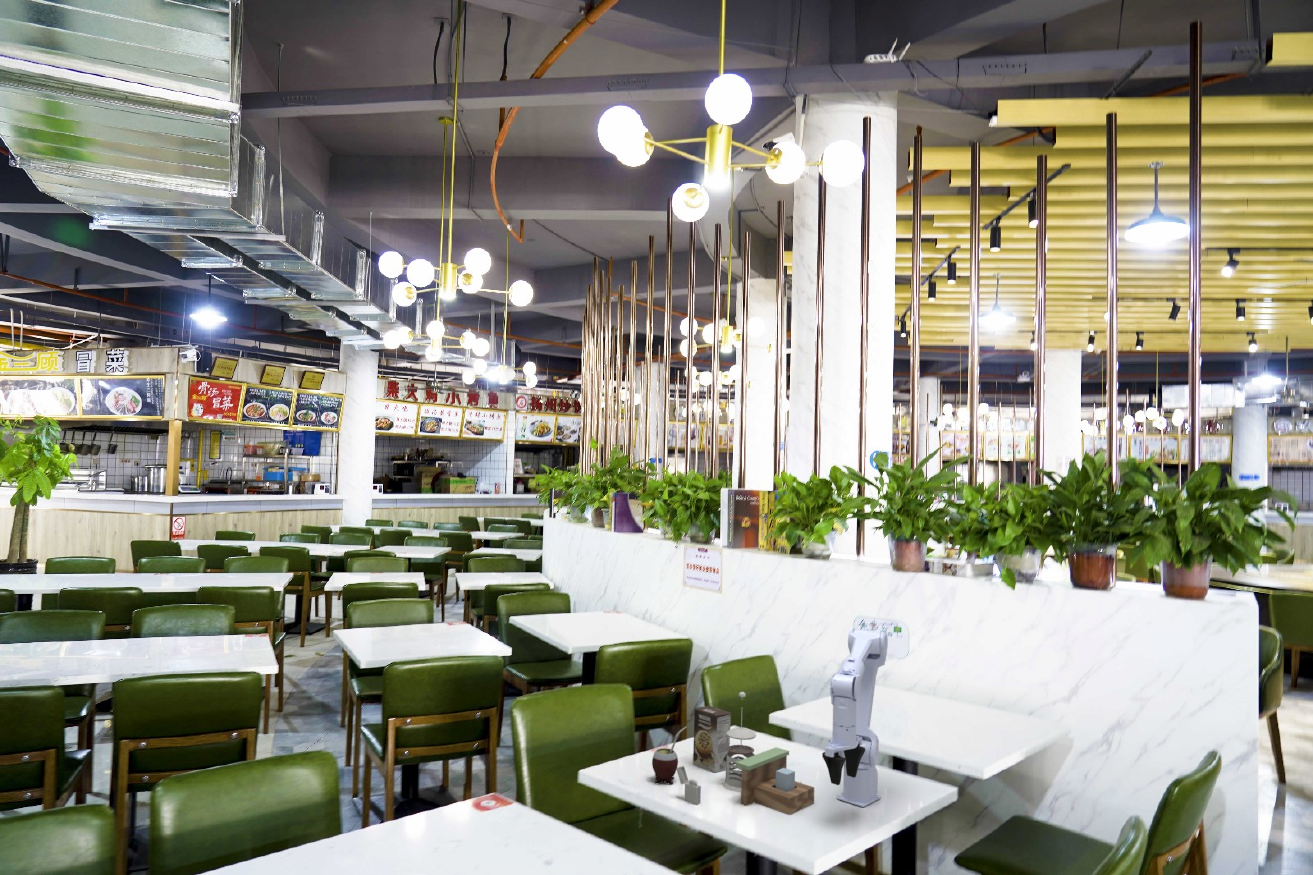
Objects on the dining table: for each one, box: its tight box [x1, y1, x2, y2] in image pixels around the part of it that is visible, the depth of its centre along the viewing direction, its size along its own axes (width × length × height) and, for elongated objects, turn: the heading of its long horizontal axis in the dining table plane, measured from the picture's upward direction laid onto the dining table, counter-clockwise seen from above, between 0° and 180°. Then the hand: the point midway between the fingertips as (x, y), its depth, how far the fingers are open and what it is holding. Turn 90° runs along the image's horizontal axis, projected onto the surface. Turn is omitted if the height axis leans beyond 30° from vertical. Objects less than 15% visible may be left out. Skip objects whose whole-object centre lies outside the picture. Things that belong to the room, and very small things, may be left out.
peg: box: [776, 767, 796, 792], centre depth 213 cm, size 4×4×7 cm
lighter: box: [676, 765, 702, 806], centre depth 213 cm, size 7×2×8 cm, turn 48°
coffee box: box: [692, 705, 732, 774], centre depth 239 cm, size 9×6×16 cm
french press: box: [716, 691, 757, 793], centre depth 226 cm, size 10×12×25 cm
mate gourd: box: [651, 725, 688, 785], centre depth 227 cm, size 8×8×15 cm
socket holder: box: [735, 746, 815, 816], centre depth 215 cm, size 18×14×10 cm
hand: (843, 780), depth 204 cm, fingers open, 7 cm apart
